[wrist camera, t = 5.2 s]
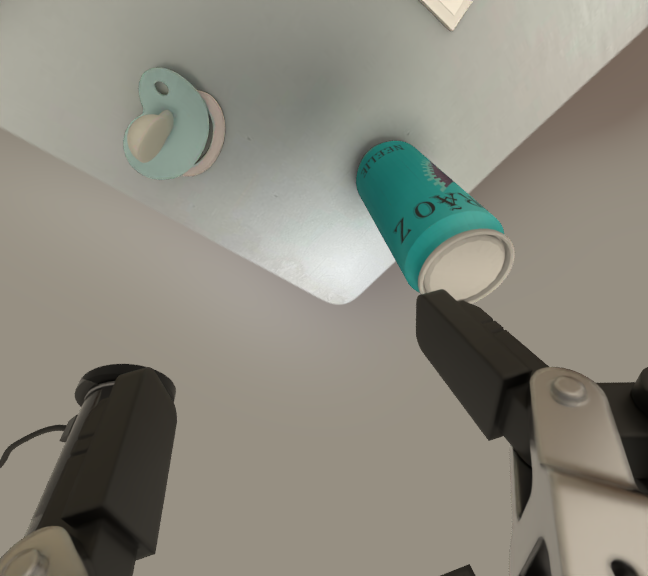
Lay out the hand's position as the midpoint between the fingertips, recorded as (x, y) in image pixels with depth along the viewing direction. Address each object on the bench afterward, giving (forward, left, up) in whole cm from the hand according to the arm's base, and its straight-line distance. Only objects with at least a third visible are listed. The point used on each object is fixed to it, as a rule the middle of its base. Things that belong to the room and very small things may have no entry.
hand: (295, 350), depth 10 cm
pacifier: (-4, +5, -21) cm, 22 cm away
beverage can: (+6, -8, -21) cm, 23 cm away
